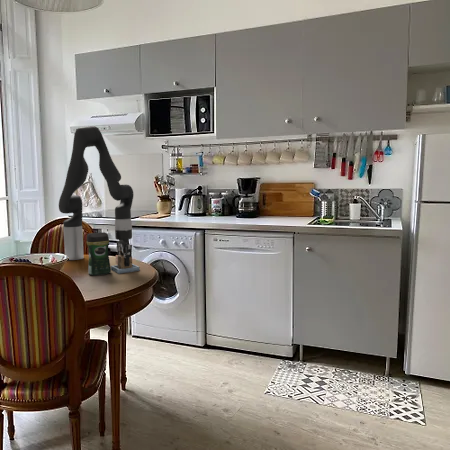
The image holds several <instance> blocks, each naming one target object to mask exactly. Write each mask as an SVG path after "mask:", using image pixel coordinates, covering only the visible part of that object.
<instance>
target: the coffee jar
mask: <svg viewBox="0 0 450 450" xmlns="http://www.w3.org/2000/svg"><path fill="white" fill-rule="evenodd" d="M86 235H87V236H86V245H87V247H88V266H87V267H88V269H87V272H88V275H89V276H102V275H103V276H104V275H107V274H111V271H112V270H111V263H110V256H109V249H108V248H109V244H110V239H109V233H108V232H105V231H103V232H91V233H87V234H86Z"/></svg>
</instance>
